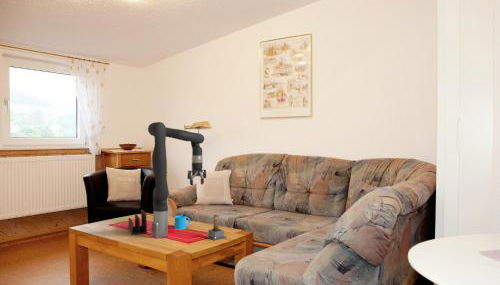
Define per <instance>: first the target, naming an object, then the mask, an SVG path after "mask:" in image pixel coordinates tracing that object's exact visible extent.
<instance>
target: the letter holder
mask: <svg viewBox="0 0 500 285" xmlns="http://www.w3.org/2000/svg"><path fill="white" fill-rule="evenodd" d="M140 214H141V215H140V216H141V217H139V215H138V214H137V213H135V214H134V223H133V220H132V218H130V217H129V218H128V224H127V225H128V226H127V229H128V231H129V232H130V235H131V236H135V235H136V236H137V235H139V236H140V235H146V234H147V233H148V228H147V227H148V222H147V214H146V212H145V210H143V209H141V211H140ZM140 218H141V219H140ZM140 223H141V224H140Z"/></svg>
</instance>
